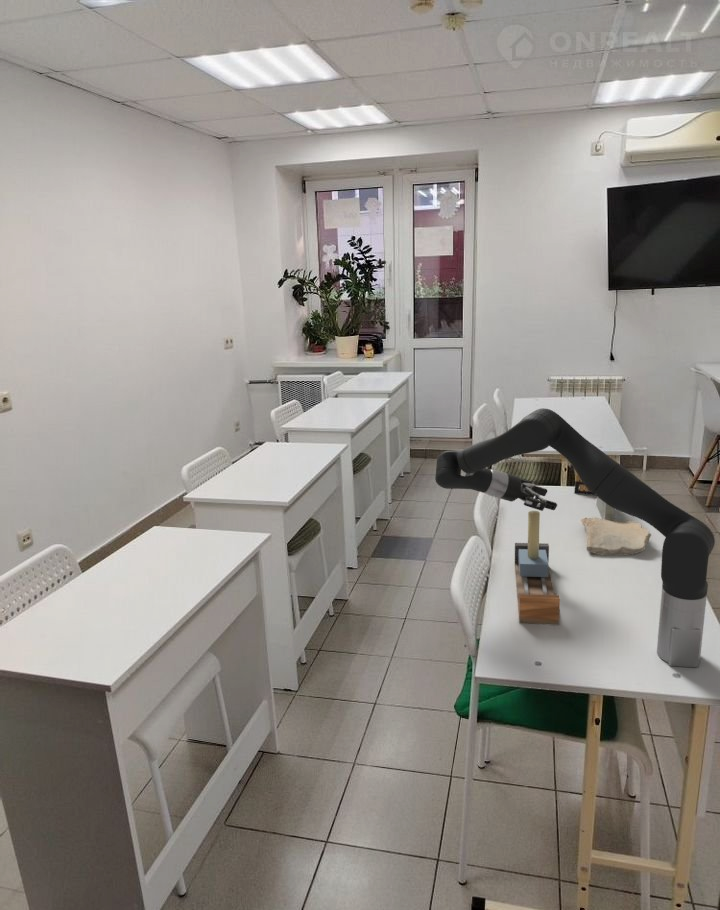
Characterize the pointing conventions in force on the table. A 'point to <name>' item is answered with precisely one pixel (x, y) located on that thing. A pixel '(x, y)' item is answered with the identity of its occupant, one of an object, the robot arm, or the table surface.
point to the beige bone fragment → (614, 536)
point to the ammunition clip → (581, 486)
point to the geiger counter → (605, 510)
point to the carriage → (533, 551)
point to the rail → (536, 594)
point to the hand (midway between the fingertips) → (550, 499)
